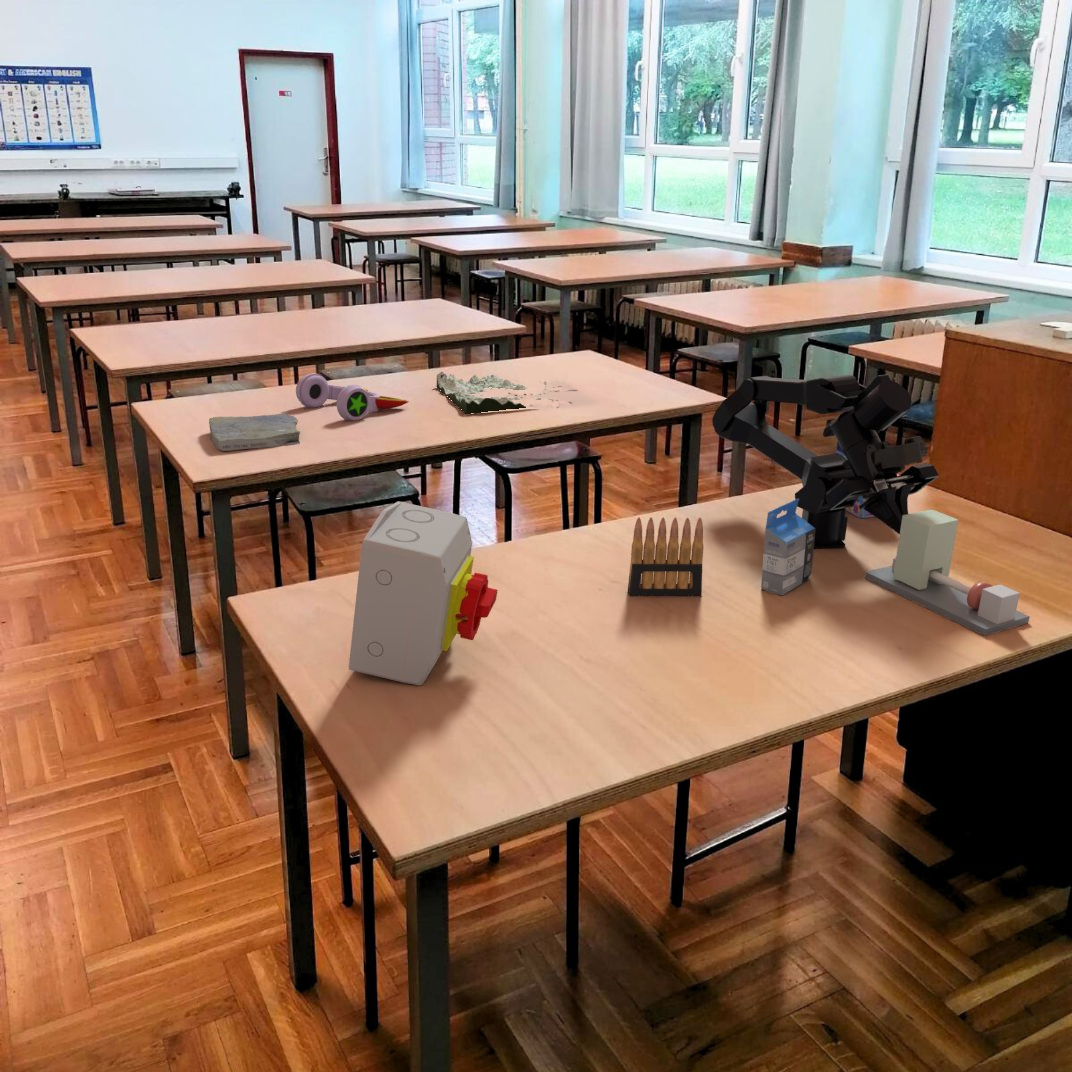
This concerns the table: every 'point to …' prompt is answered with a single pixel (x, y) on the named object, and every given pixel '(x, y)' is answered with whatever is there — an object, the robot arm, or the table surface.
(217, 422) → the fossil
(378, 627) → the electrical switch box
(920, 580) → the pale green upright block
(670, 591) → the ammunition clip
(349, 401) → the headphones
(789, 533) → the label tape box
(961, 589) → the grey rail base
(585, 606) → the table surface
